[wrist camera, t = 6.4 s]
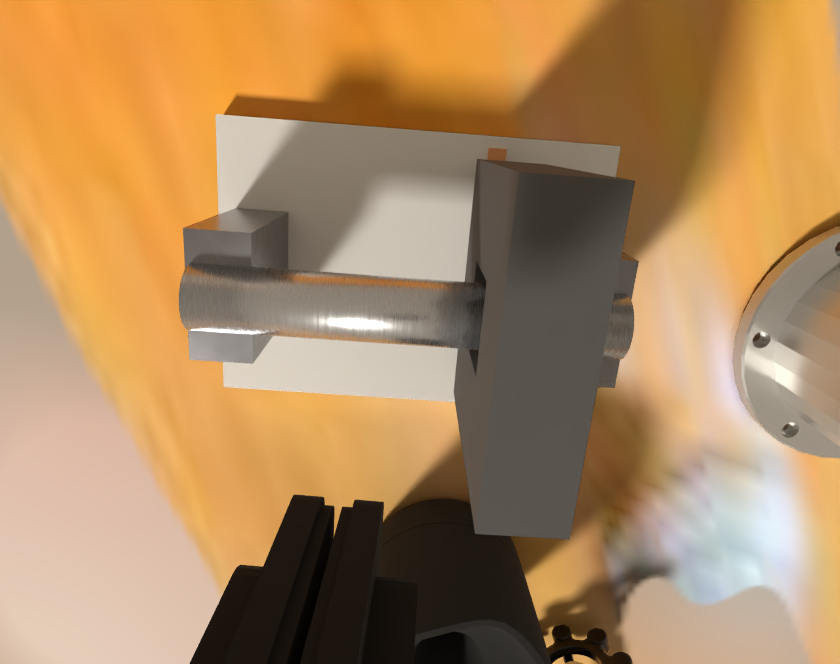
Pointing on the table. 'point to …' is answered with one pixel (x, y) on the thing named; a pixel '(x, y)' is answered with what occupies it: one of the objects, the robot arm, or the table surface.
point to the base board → (368, 231)
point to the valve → (583, 647)
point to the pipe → (333, 298)
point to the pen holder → (462, 587)
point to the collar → (536, 339)
